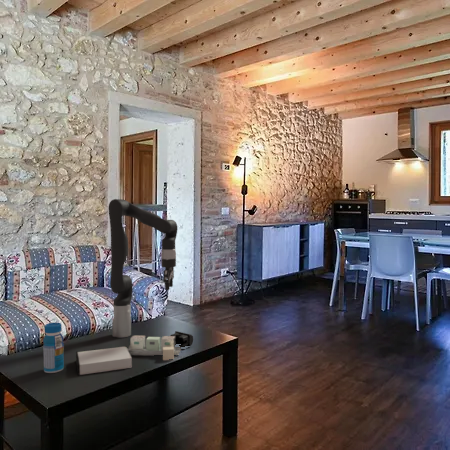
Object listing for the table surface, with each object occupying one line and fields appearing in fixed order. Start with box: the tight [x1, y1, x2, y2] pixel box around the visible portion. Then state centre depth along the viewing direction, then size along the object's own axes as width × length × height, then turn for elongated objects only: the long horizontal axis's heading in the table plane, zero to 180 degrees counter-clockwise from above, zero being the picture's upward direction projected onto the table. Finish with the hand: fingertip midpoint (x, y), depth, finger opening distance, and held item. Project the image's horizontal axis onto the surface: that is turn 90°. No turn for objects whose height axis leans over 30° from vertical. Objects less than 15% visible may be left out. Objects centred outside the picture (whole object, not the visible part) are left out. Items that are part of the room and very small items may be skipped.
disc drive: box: [75, 346, 133, 376], centre depth 188 cm, size 18×22×5 cm
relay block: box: [162, 347, 175, 361], centre depth 196 cm, size 5×4×5 cm
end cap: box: [169, 331, 194, 347], centre depth 213 cm, size 10×7×7 cm
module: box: [145, 336, 161, 350], centre depth 203 cm, size 6×4×6 cm
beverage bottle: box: [42, 322, 65, 374], centre depth 182 cm, size 8×8×20 cm
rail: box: [127, 334, 182, 356], centre depth 203 cm, size 26×7×8 cm, turn 86°
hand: (168, 288), depth 221 cm, fingers open, 8 cm apart
